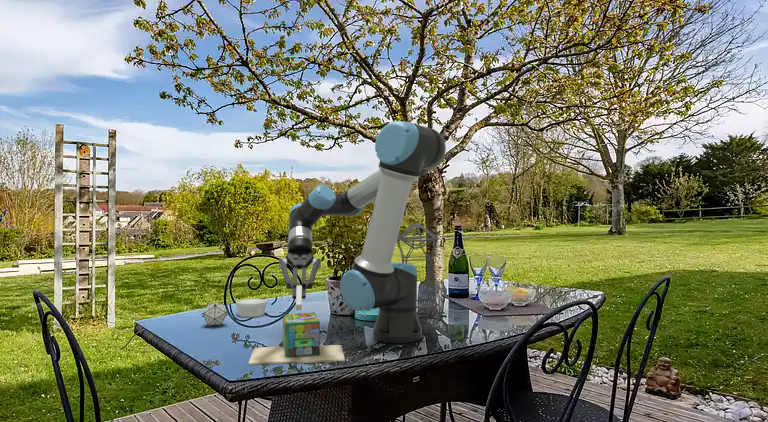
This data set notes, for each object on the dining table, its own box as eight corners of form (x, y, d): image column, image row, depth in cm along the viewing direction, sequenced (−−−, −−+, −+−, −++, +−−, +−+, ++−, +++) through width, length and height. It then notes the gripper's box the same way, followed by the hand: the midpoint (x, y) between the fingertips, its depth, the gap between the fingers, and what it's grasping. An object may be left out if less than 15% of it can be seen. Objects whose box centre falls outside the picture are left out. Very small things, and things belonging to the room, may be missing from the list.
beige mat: (341, 346, 138) (341, 344, 138) (344, 361, 124) (344, 359, 124) (254, 349, 134) (254, 347, 134) (248, 364, 120) (248, 362, 120)
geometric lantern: (441, 320, 174) (440, 223, 174) (397, 321, 174) (396, 224, 174) (436, 311, 190) (434, 222, 190) (396, 311, 190) (394, 222, 189)
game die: (217, 338, 160) (217, 318, 154) (195, 327, 161) (195, 307, 156) (233, 320, 167) (234, 300, 161) (212, 310, 169) (212, 290, 163)
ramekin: (238, 312, 185) (239, 298, 185) (268, 312, 186) (268, 298, 186) (232, 318, 173) (233, 304, 174) (264, 318, 175) (264, 303, 175)
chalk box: (314, 311, 138) (322, 322, 124) (315, 344, 138) (322, 358, 124) (282, 313, 136) (286, 325, 122) (282, 346, 136) (286, 361, 121)
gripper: (320, 252, 156) (321, 314, 139) (279, 252, 153) (275, 315, 137) (321, 236, 150) (322, 299, 134) (278, 236, 148) (274, 299, 132)
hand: (298, 307), depth 135 cm, fingers closed
